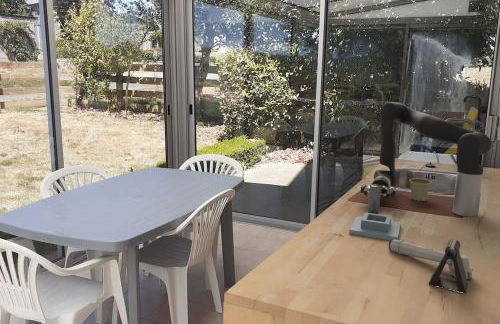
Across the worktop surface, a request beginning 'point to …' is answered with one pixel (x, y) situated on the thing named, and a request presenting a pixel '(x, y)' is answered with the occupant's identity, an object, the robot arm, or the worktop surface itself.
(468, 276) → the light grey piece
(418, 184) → the flower pot
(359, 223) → the block
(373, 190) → the steel axle
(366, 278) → the worktop surface
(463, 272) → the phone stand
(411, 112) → the robot arm
